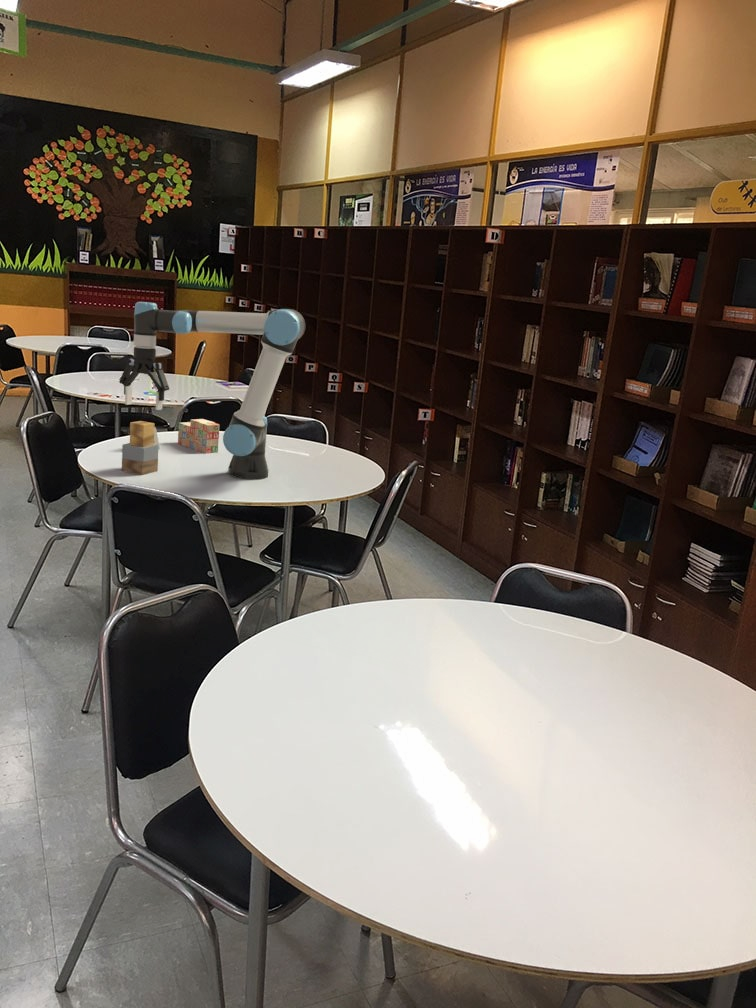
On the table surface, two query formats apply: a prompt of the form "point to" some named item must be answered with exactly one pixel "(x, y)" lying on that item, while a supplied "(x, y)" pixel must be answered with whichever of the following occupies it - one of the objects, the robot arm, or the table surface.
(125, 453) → the tower top block
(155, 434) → the electrical switch
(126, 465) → the tower bottom block
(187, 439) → the stack of blocks
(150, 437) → the ochre block
